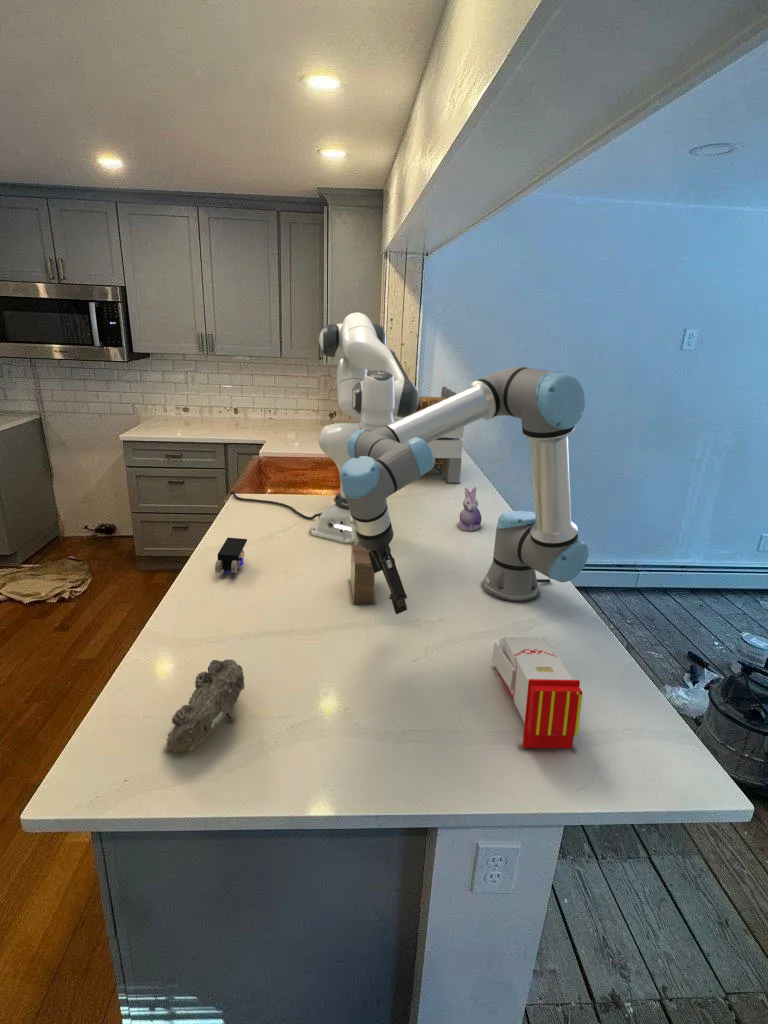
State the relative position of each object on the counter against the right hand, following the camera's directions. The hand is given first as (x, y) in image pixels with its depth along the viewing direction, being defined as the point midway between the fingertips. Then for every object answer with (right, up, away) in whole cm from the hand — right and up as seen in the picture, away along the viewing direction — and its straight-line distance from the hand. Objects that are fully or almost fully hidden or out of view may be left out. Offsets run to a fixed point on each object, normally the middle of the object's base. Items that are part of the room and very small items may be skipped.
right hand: (389, 590), depth 130 cm
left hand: (-4, +26, +26) cm, 37 cm away
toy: (+28, -21, -14) cm, 38 cm away
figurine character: (-46, +1, +37) cm, 59 cm away
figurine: (+30, +12, +79) cm, 85 cm away
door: (-7, +6, +25) cm, 26 cm away
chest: (-8, -4, +28) cm, 29 cm away
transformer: (+16, +37, +145) cm, 150 cm away
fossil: (-34, -21, -22) cm, 46 cm away
